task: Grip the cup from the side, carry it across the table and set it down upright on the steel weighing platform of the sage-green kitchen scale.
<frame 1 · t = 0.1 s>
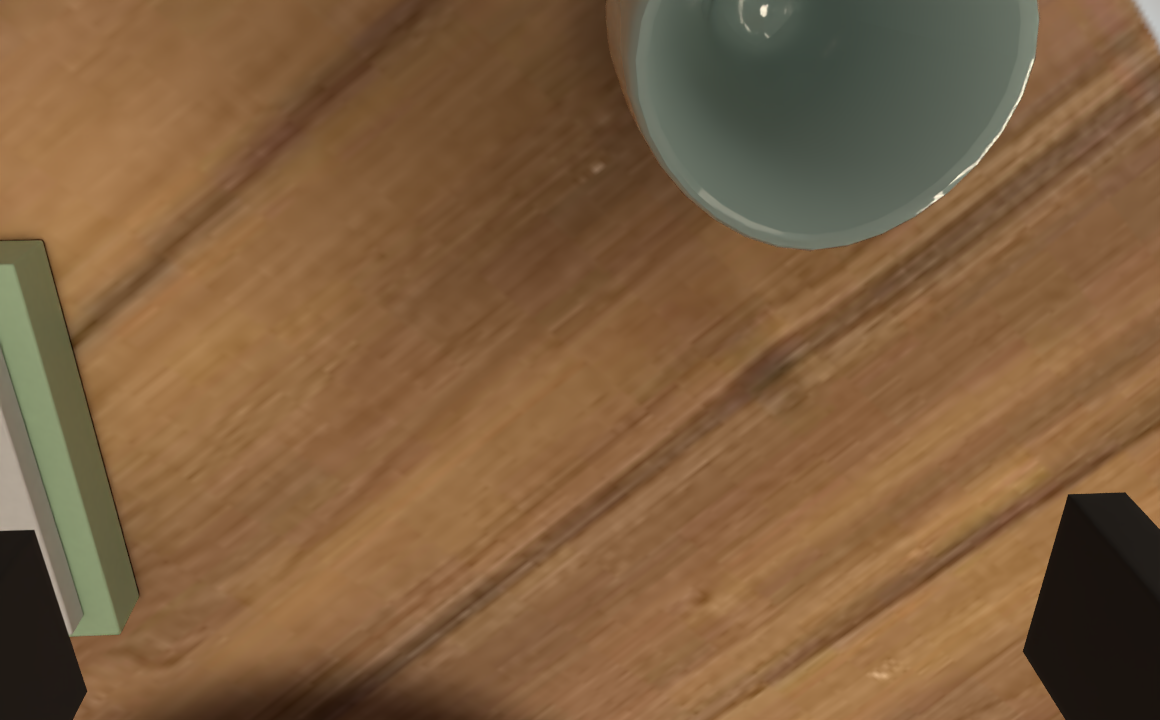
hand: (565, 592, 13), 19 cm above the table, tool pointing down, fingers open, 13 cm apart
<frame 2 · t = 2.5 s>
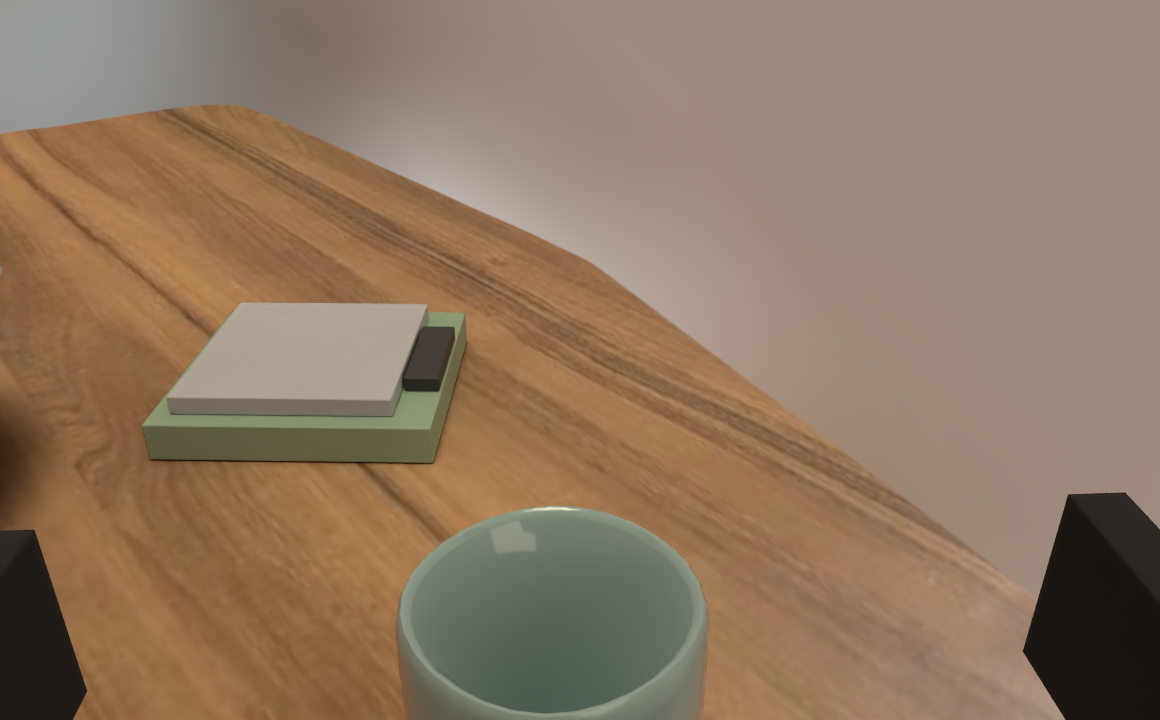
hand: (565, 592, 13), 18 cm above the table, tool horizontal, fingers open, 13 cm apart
scale: (324, 394, 53), on the table
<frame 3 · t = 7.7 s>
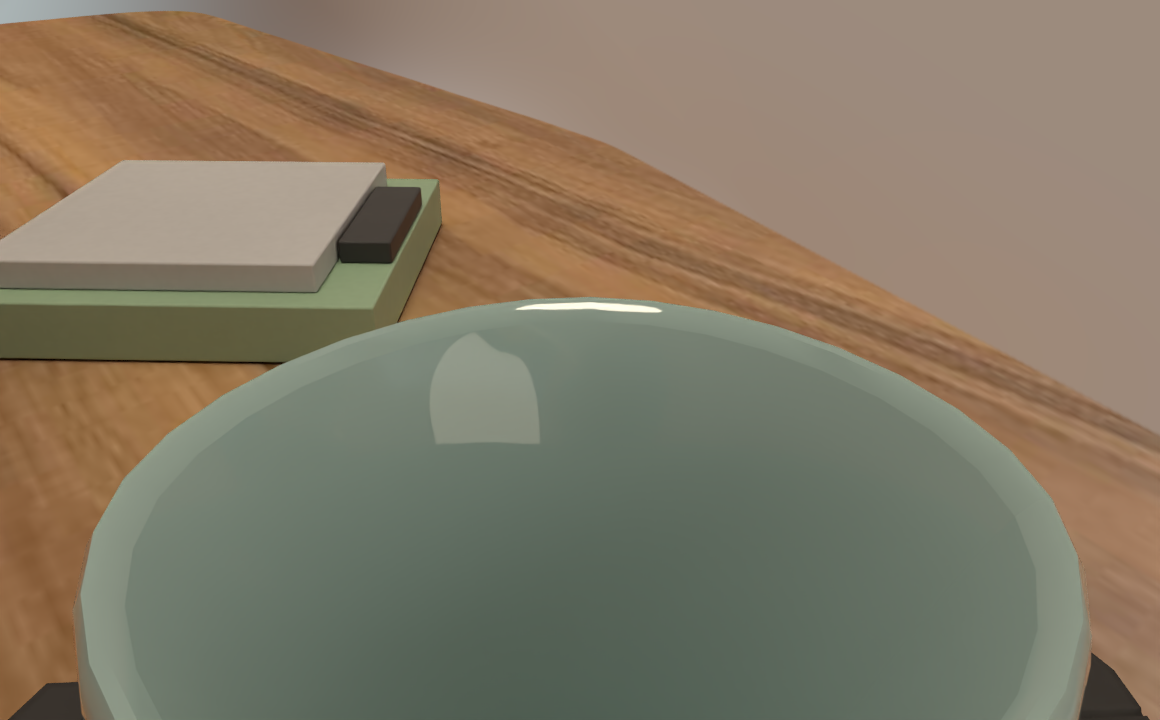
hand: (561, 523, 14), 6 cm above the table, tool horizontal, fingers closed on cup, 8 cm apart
scale: (231, 280, 37), on the table
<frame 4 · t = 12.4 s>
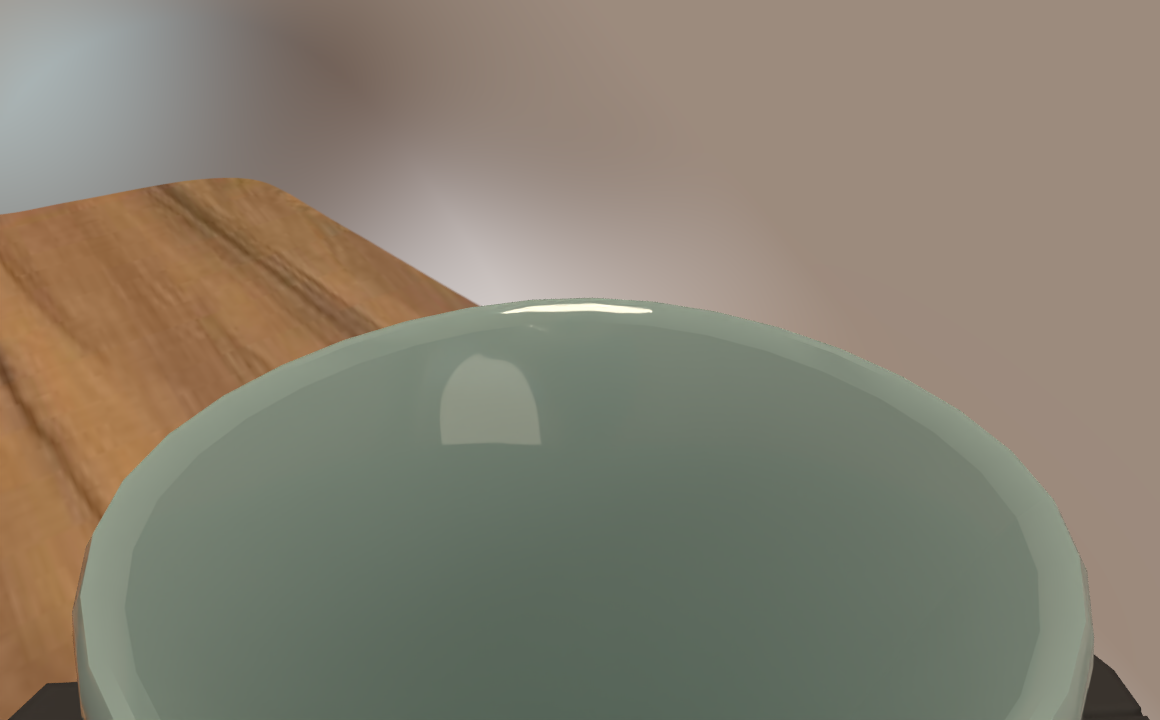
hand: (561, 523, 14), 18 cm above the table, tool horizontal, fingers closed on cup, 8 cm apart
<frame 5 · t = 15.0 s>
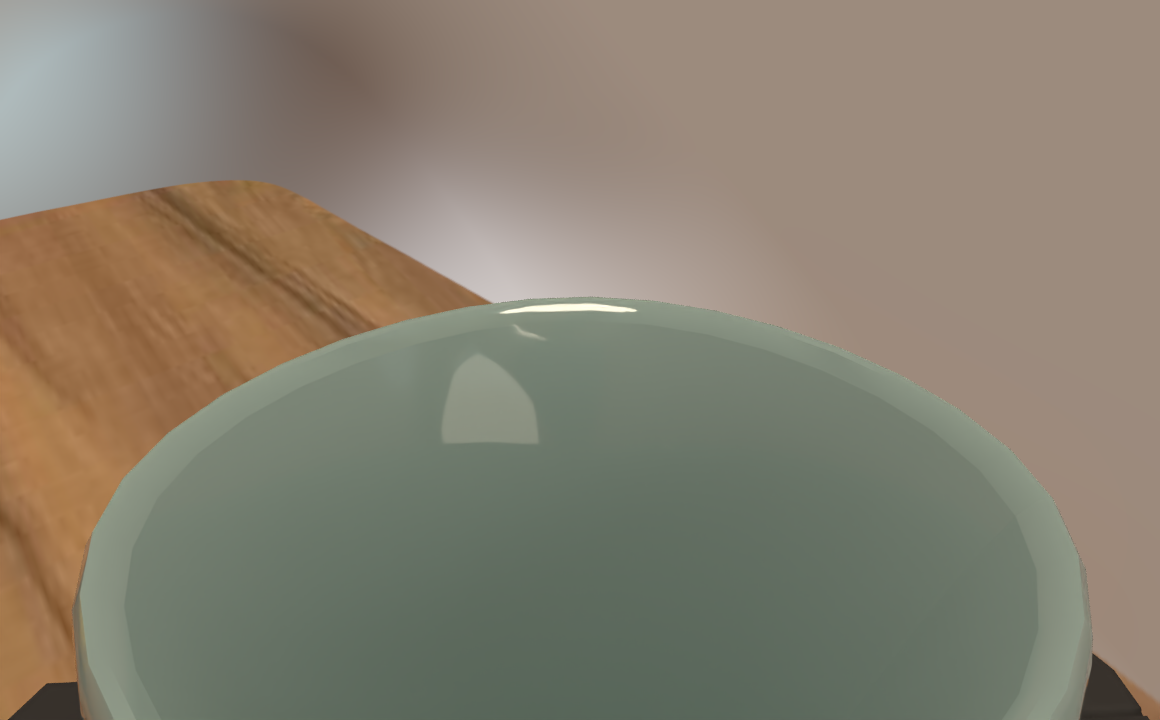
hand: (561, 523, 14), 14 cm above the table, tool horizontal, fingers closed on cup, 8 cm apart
when the fingers open (9 cm above the table, at t = 17.0 s): cup stays where it is, resting on scale.
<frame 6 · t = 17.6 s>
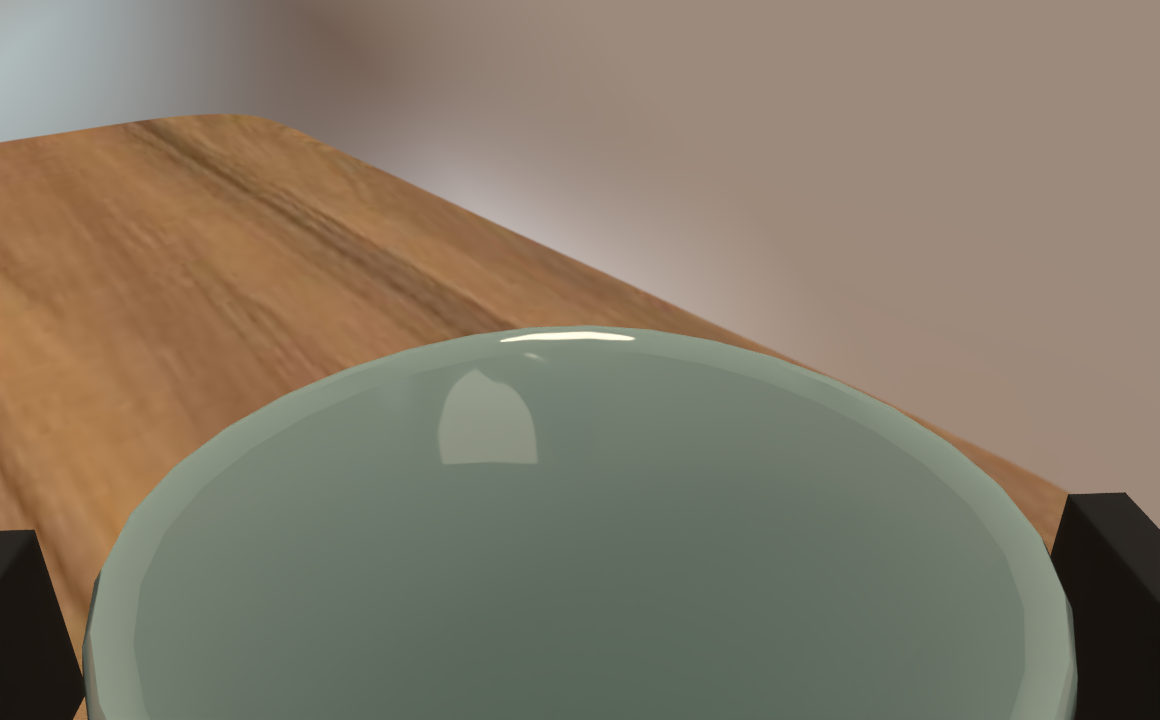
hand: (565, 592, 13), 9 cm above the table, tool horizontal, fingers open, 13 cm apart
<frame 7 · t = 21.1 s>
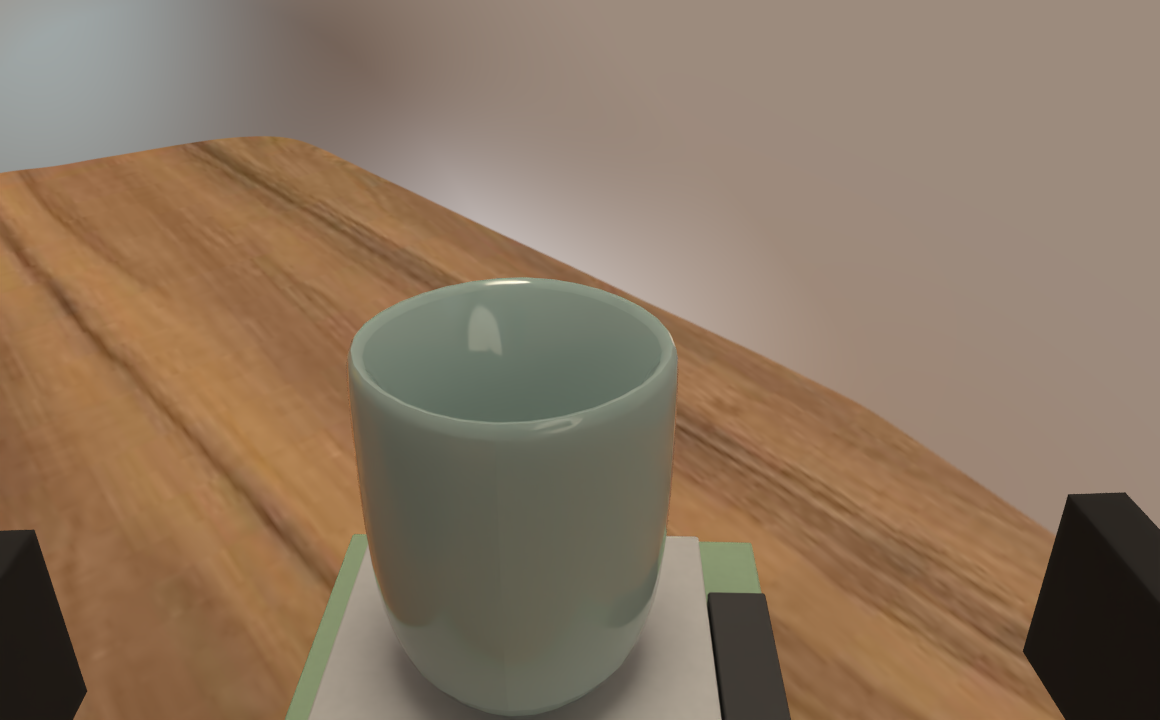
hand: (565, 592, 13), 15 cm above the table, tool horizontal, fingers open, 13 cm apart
cup: (521, 656, 28), point 3 cm above the table, touching scale
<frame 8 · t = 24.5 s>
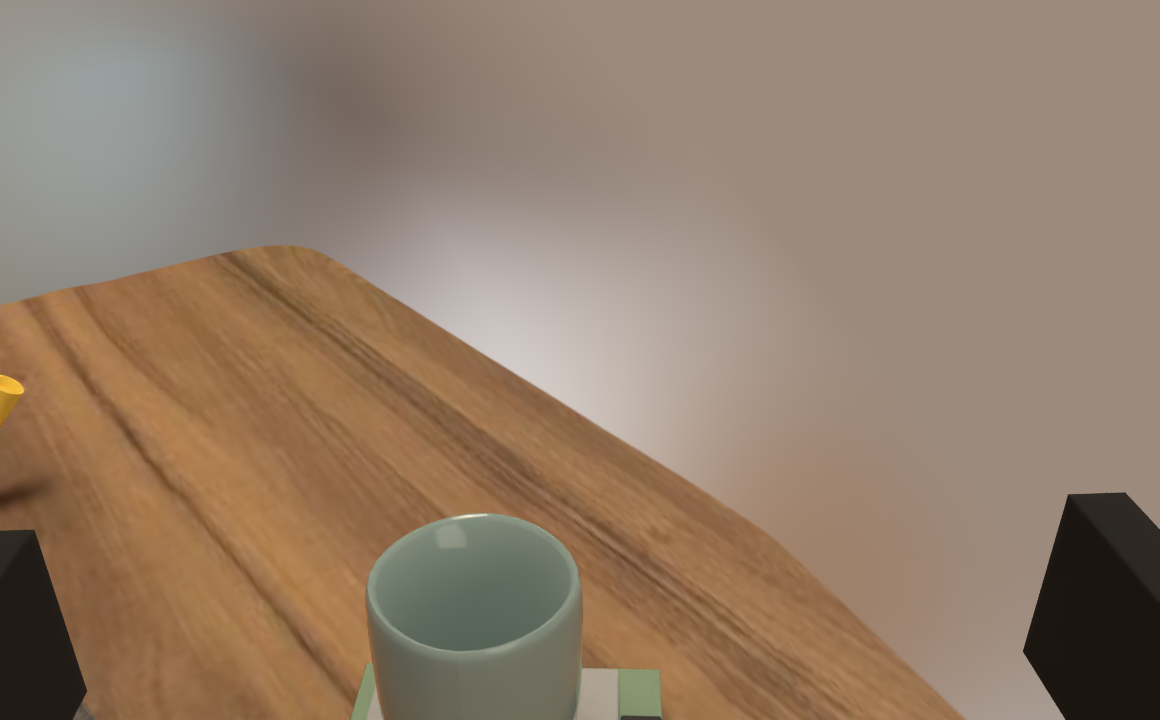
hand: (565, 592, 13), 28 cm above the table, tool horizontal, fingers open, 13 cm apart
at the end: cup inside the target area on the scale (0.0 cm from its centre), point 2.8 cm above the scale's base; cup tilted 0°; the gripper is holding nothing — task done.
